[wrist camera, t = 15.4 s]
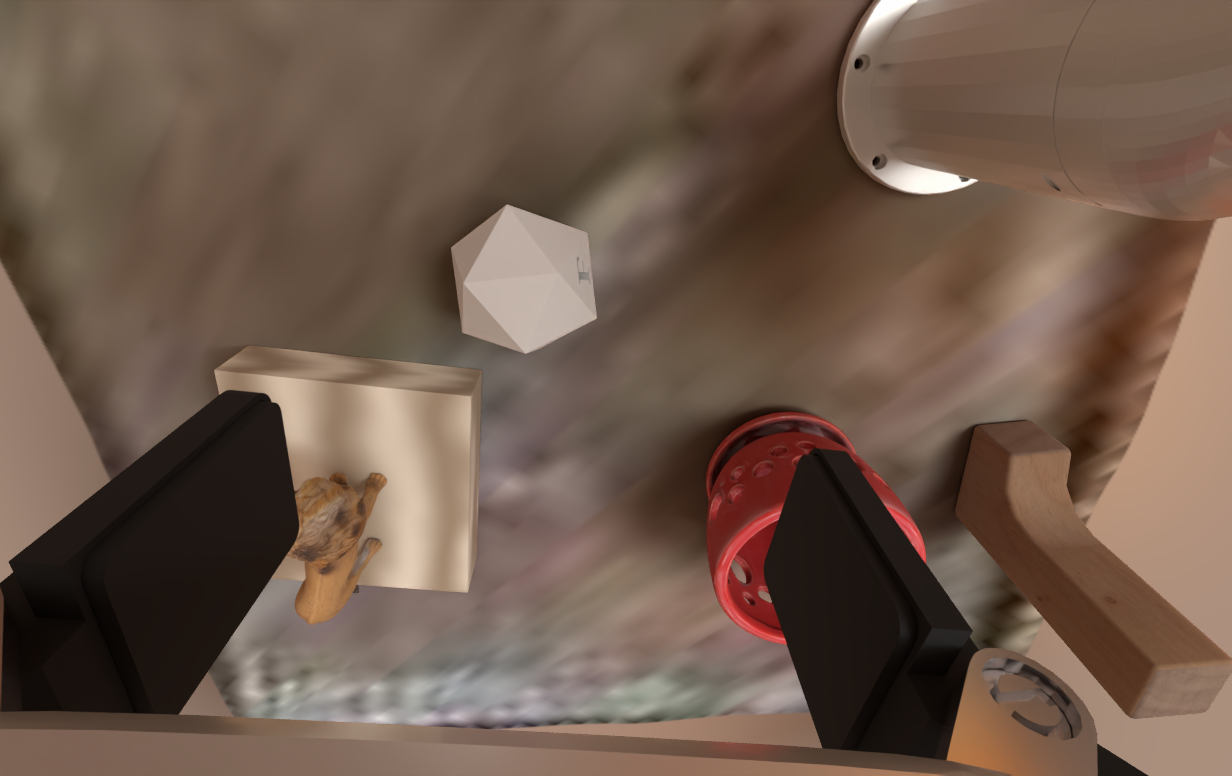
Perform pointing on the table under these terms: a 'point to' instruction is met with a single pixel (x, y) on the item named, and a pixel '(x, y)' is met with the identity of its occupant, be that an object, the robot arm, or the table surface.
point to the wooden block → (1082, 577)
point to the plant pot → (768, 507)
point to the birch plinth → (382, 452)
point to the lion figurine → (332, 542)
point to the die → (523, 280)
